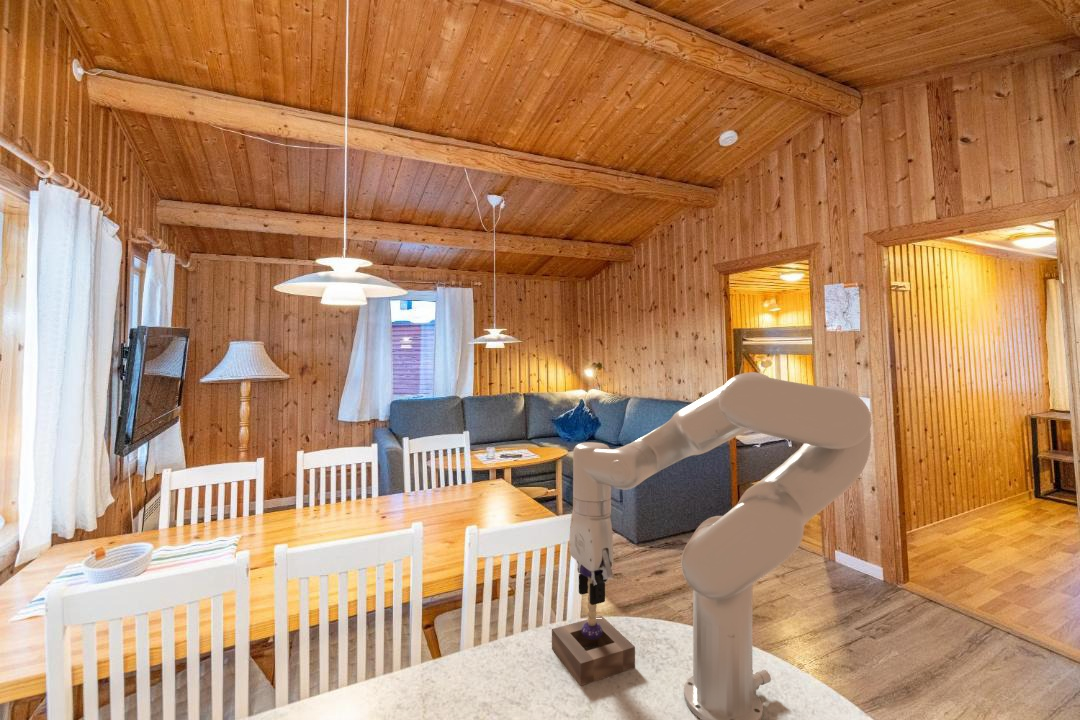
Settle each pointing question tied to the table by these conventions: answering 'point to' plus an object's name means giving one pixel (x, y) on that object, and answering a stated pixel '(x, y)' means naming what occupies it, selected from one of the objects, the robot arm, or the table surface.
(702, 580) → the robot arm
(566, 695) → the table surface
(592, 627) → the toy lamp
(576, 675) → the socket block
